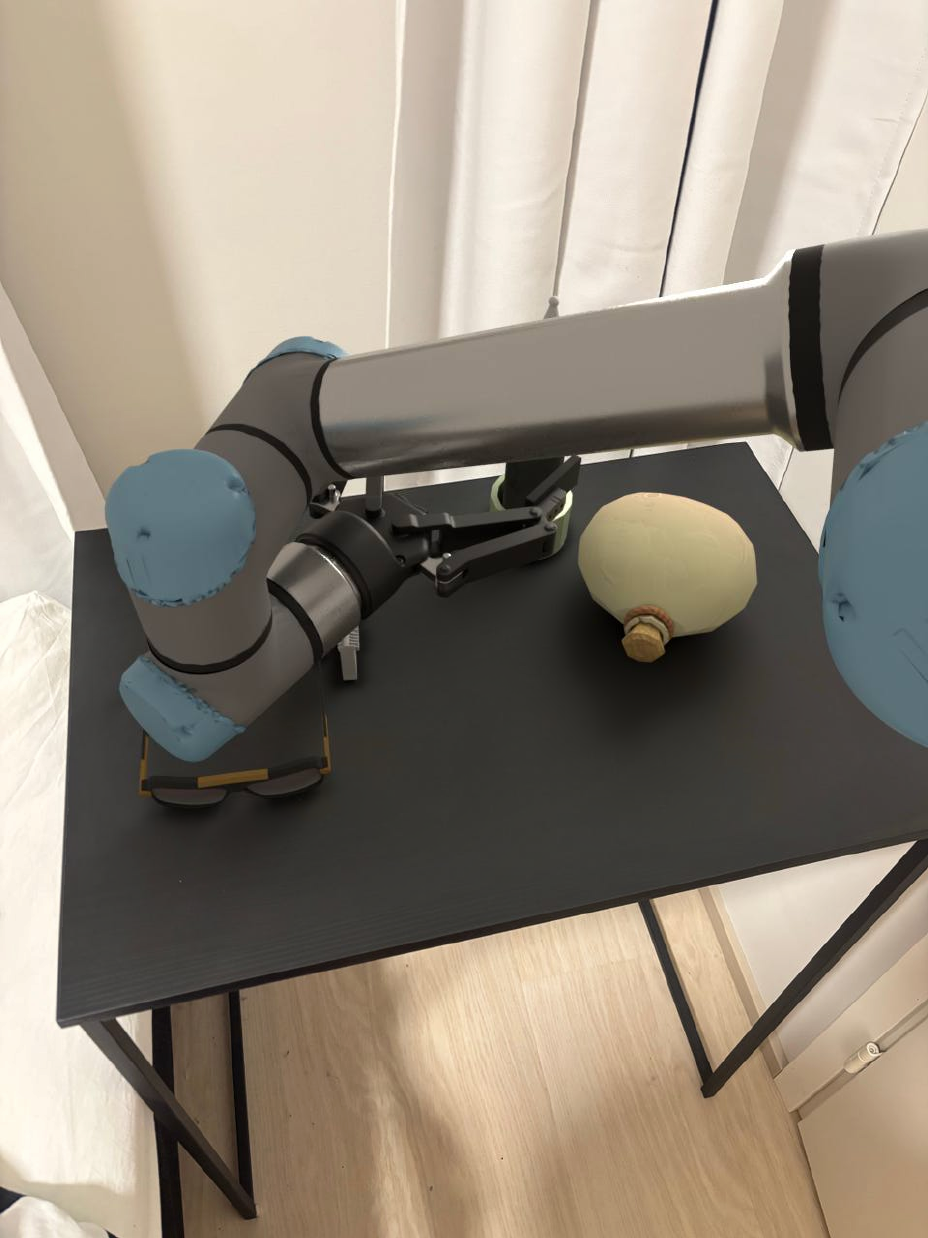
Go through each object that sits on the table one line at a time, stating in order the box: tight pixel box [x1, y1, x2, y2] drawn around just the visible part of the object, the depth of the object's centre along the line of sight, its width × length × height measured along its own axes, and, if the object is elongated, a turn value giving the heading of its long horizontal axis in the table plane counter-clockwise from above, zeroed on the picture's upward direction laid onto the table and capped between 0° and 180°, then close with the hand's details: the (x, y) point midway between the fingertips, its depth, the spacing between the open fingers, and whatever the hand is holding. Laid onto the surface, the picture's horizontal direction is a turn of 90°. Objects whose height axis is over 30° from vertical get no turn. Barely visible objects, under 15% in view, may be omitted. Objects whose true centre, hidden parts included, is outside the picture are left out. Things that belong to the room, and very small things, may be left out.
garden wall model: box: [337, 625, 360, 681], centre depth 80 cm, size 12×2×6 cm, turn 6°
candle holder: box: [489, 473, 573, 561], centre depth 89 cm, size 8×8×5 cm
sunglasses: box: [138, 658, 332, 810], centre depth 73 cm, size 14×15×5 cm
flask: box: [577, 491, 758, 663], centre depth 81 cm, size 9×16×18 cm
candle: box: [502, 295, 566, 510], centre depth 80 cm, size 5×5×25 cm
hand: (506, 432), depth 76 cm, fingers open, 13 cm apart
